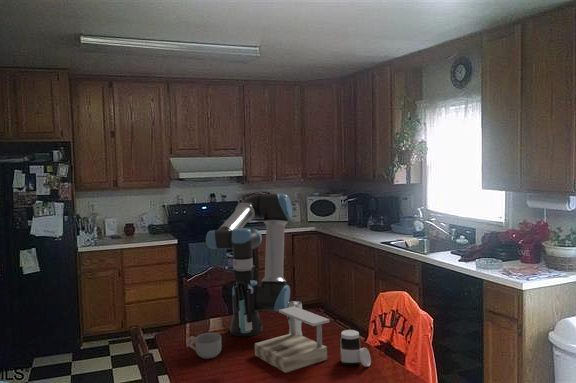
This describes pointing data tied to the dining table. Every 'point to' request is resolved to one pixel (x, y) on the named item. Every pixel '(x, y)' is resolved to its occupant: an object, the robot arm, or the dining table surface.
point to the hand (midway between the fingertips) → (245, 328)
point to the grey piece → (305, 320)
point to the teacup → (206, 345)
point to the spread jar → (353, 349)
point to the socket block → (290, 352)
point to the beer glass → (297, 322)
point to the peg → (242, 317)
